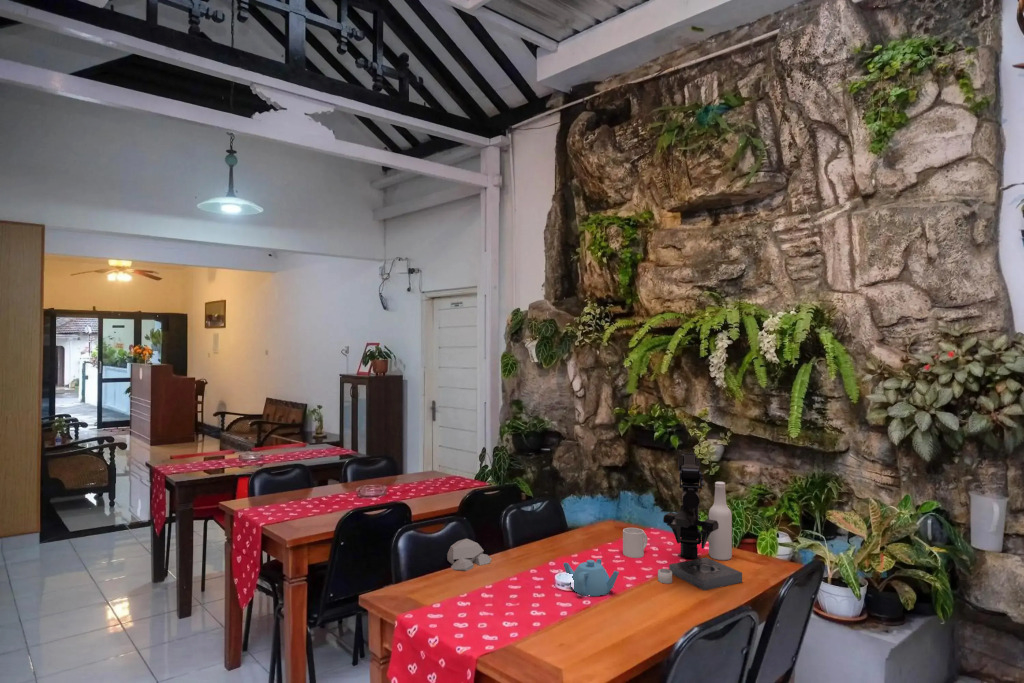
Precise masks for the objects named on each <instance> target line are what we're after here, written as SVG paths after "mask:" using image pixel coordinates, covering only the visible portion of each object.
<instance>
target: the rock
mask: <svg viewBox="0 0 1024 683" xmlns="http://www.w3.org/2000/svg"><path fill="white" fill-rule="evenodd" d="M484 552H485V551H484V549H483V548H482V546H481V545H480V544H479V543H478V542H477V541H476V542H475V541H473V540H472V539H469V538H464V539H460V540H458V541H455V543H453V544H452V545H450V547H449V549H448V552H447V554H446V555H447V561H448V562H449V563H450V564H451V566H450V567H451V569H452V570H454V571H460V572H461V571H463V572H468V571H469V570H472V569H473V568H474V564H476V565H477V566H480V565H481V566H485V565H490V564H491V561H492V558H491V557H490V556H489V555H488V554H486V553H484ZM455 560H456V561H455Z"/></svg>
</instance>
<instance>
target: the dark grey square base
mask: <svg viewBox="0 0 1024 683" xmlns="http://www.w3.org/2000/svg"><path fill="white" fill-rule="evenodd" d="M668 566H669V570H671V571H672V576H675V577H676V578H679V579H681V580H682V581H684V582H686V583H688V584H691V585H692V586H694V587H696V588H698V589H699V590H702V591H709V590H713V589H718V588H722V587H726V586H731V585H736V584H741V583H743V572H741V571H740V570H737V569H735V568H733V567H730V566H728V565H725V564H723V563H721V562H719V561H716V560H715V559H714V560H713V559H711V558H708V557H700V558H697V559H692V560H686V561H680V562H674V563H670V564H669V565H668Z"/></svg>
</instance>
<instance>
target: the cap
mask: <svg viewBox="0 0 1024 683" xmlns="http://www.w3.org/2000/svg"><path fill="white" fill-rule="evenodd" d="M657 582H659V583H661V584H666V585H667V584H668V585H669V584H672V583H673V575H672V571H671V570H669V569H668V568H660V569H657Z"/></svg>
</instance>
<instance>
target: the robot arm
mask: <svg viewBox="0 0 1024 683" xmlns="http://www.w3.org/2000/svg"><path fill="white" fill-rule="evenodd" d="M677 468H678V469H677V471H678V472H679V489H681V497H682V498H681V501H682V502H681V503H682V504H681V505H680V508H679V509H680V510H679V511H678V512H677V513H676V512H668V513H666V514H664V515H663V520H662V521H663V523H665V524H666V525H667V526H669V527H670V529H671V530H672V532H673V535H674V538H675V541H676V543H677V544H680V554H677V557H680V558H683V559H684V560H686V561H690V560H695V559H701V557H700V556H698V554H699V552H698V551H699V550H698V545H699V546H701V549H704V548H705V546H706V544H707V541H708V540H709V535H710V533H711V532H713V531H715V530H717V529H719V524H718V522H717V521H715V520H710V519H709V518H707V519H704V520H700V519H701V516H700V515H699V512H700V511H699V510H700V508H701V504H700V502H701V501H700V495H699V493H700V492H699V490H702V489H703V487H704V474H703V471H702V470H701V460H700V458H698V457H697V454H696V453H694V452H683V453H682V455H681V456H680V457H679V458H677ZM699 527H701V529H700V528H699Z"/></svg>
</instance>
